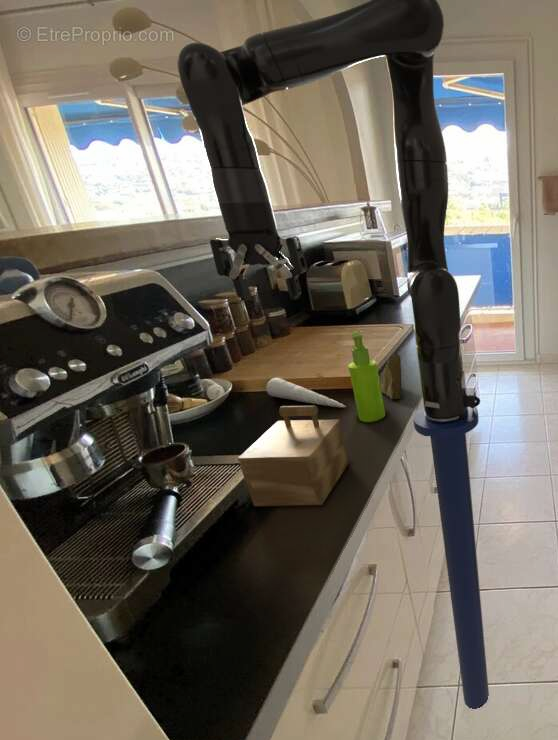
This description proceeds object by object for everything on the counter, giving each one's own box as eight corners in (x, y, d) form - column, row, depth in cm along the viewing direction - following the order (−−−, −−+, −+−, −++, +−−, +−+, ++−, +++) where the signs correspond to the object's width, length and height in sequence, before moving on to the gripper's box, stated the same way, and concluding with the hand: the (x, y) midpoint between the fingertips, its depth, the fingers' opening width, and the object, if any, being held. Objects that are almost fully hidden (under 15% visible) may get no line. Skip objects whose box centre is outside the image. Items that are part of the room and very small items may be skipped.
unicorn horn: (334, 415, 105) (330, 396, 103) (267, 398, 115) (262, 381, 113) (349, 407, 109) (345, 389, 107) (283, 391, 119) (279, 375, 117)
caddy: (288, 465, 86) (277, 425, 82) (348, 464, 86) (339, 424, 83) (253, 506, 75) (238, 462, 71) (322, 504, 75) (310, 461, 71)
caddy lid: (279, 424, 83) (272, 401, 81) (340, 423, 83) (335, 399, 81) (238, 462, 71) (229, 436, 69) (310, 460, 71) (303, 434, 69)
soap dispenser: (384, 407, 109) (370, 327, 100) (386, 419, 103) (371, 336, 95) (358, 411, 107) (342, 330, 99) (359, 424, 101) (342, 339, 93)
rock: (409, 392, 111) (419, 372, 119) (383, 368, 107) (395, 350, 116) (380, 414, 115) (391, 393, 123) (354, 391, 111) (368, 372, 120)
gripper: (298, 199, 76) (319, 294, 83) (214, 200, 76) (242, 295, 83) (277, 199, 70) (302, 303, 76) (184, 201, 69) (217, 305, 76)
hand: (270, 299), depth 80 cm, fingers open, 8 cm apart
